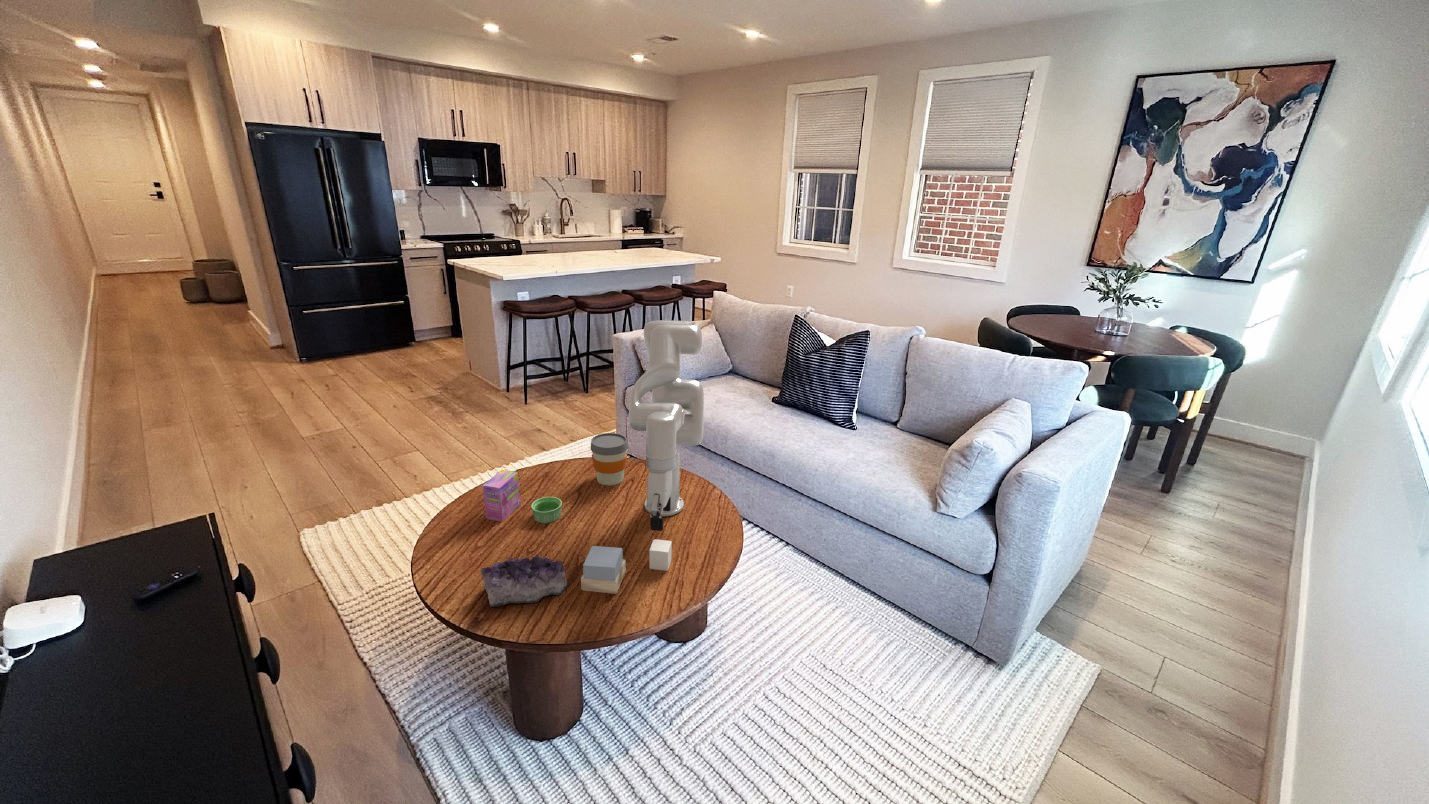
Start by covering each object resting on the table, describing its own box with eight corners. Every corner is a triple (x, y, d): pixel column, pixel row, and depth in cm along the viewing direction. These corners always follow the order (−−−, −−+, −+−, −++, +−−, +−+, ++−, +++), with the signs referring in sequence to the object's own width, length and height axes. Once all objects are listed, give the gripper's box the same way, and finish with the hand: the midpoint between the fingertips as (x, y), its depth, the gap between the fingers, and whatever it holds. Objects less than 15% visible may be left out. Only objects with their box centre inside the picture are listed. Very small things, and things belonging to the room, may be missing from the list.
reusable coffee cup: (586, 485, 188) (584, 445, 182) (599, 468, 199) (598, 430, 194) (621, 490, 186) (620, 449, 181) (633, 472, 198) (632, 434, 192)
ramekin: (561, 506, 175) (560, 494, 173) (563, 522, 167) (562, 509, 165) (531, 510, 172) (530, 498, 171) (532, 526, 164) (531, 513, 163)
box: (503, 522, 166) (499, 487, 162) (486, 519, 167) (481, 485, 163) (521, 504, 175) (518, 471, 171) (504, 502, 176) (501, 469, 172)
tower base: (592, 568, 148) (592, 556, 146) (625, 572, 147) (625, 559, 145) (581, 591, 139) (580, 578, 138) (616, 595, 138) (615, 582, 137)
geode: (566, 570, 146) (566, 541, 142) (568, 604, 137) (567, 574, 132) (484, 578, 141) (480, 549, 136) (479, 615, 131) (475, 584, 126)
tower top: (592, 558, 145) (592, 545, 144) (622, 560, 145) (622, 548, 143) (583, 578, 138) (583, 565, 137) (615, 580, 137) (614, 567, 136)
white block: (653, 557, 153) (653, 539, 150) (671, 559, 152) (671, 541, 150) (649, 568, 148) (649, 550, 146) (667, 570, 147) (668, 552, 145)
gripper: (653, 445, 147) (653, 502, 153) (637, 474, 131) (638, 536, 137) (681, 447, 146) (680, 504, 152) (669, 477, 130) (668, 539, 136)
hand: (660, 519), depth 144 cm, fingers open, 9 cm apart
